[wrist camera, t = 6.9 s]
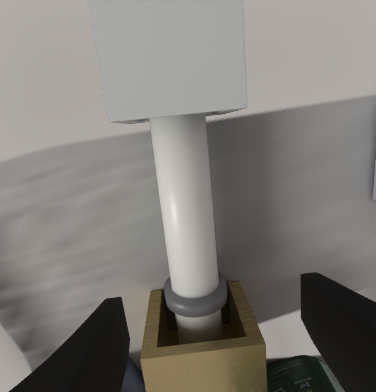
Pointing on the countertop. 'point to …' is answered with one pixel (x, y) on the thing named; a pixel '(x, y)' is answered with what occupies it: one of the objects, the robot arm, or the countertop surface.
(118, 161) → the countertop surface
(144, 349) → the socket
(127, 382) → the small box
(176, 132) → the tube
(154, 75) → the light grey block
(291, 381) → the coffee jar
